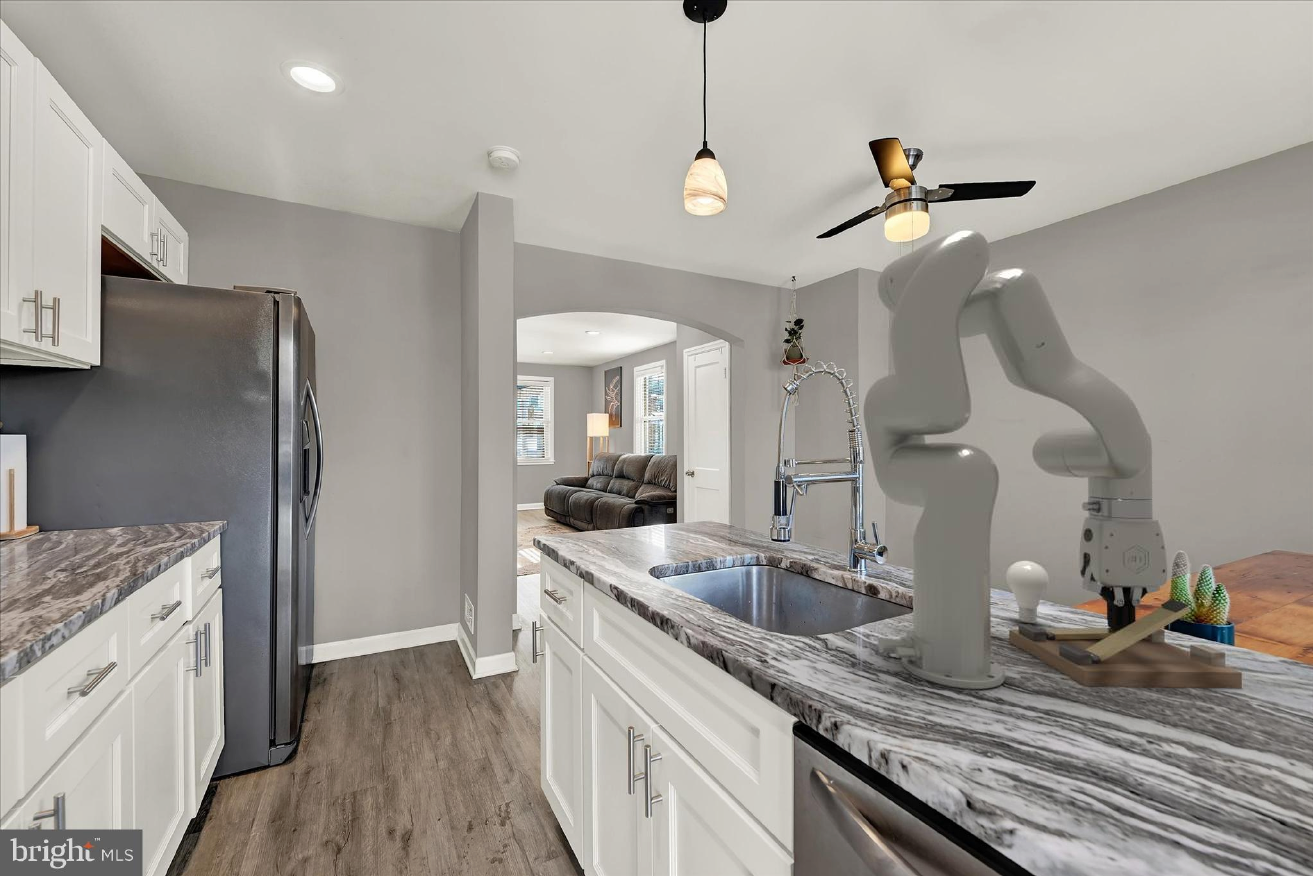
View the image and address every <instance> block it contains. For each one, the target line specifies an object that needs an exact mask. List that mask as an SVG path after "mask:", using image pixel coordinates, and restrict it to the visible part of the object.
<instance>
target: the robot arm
mask: <svg viewBox="0 0 1313 876" xmlns="http://www.w3.org/2000/svg"><path fill="white" fill-rule="evenodd" d="M990 249H991V248H990V245H989V242H988V240H987V239H986V237H985V236H984V235H983V234H982V233H981V232H979V231H976V230H972V229H963V230H958V231H953V232H950V233H948V234H946V235H944V236H943V235H942V236H941V237H939V238H936V239H935V240H932V241H931V242H928V243H926V244H924V245H921V246H920V247H919V248H917V249H915V250H912V251H911V252H909V253H907V254H905V255H902V256H901V257H899V258H897V259H895V260H893V261H892V262H890V263H889V264H888V265H886V266H885V268H884V269H883V270H882V272H881V273H880V275H879V277H878V280H877V293H878V297H879V299H880V302H881V303H882V304H883V305H884V306H885V307H886V308H887V310H889V311H890V312H892V313H893V316H892V320H891V326H890V345H891V353H892V360H893V366H894V367H893V368H894V373H892V374H889V375H886V376H882V377H881V378H879V379H878V380H876V381H875V382H874V383H873V384H872V385H871V386H870V388H869V390H868V391H867V393H866V396H865V398H864V404H863V420H864V425H865V431H866V436H867V441H868V446H869V451H870V457H871V461H872V465H873V469H874V474H875V477H876V481H877V482H878V483H877V484H878V486H879V488H880V490H881V491H882V493H883V494H884V495H885V496H886V497H887V498H889V500H891V501H894V502H896V503H898V504H900V505H901V504H902V505H906V506H907V505H908V506H912V507H918V508H923V510H922V513H921V515H920V516H919V517H920V518H919V519H918V522H917V524H916V527H915V530H914V535H913V538H912V539H913V540H912V580H913V581H912V582H913V583H912V589H913V592H912V594H913V595H912V602H913V603H912V605H913V607H912V608H913V609H912V611H913V613H912V614H913V618H912V620H913V621H912V623H913V625H912V626H913V627H912V629H913V630H912V629H911V630H906V631H905V636H900V638H899V639H898V638H897V639H893V638H883V637H882V638H879V639H878V641H877V645H878V650H879V652H880V653H881V654H883V653H884V654H885V653H886V654H887V653H888V654H891V653H892V654H894V656H895V658H897V659H900V658H901V664H902V666H903V667H904V669H906V670H907V671H908V672H910V673H912V674H913V675H915V676H916V677H920V678H921V679H924V680H926V681H929V682H932V683H936V684H939V685H943V686H948V687H954V688H960V689H967V690H968V689H971V690H973V689H974V690H984V689H990V688H996V687H998V686H1000V685H1002V684H1003V683H1004V681H1005V670H1004V668H1003V667H1002V666H1001V665H1000V664H999V663H998V662H997V661H994V660H993V659H992V658H991V656H992V650H991V649H992V648H991V646H992V642H991V641H992V639H991V638H992V637H991V633H992V632H991V631H992V630H991V628H992V627H991V625H992V624H991V622H992V621H991V620H992V618H991V616H992V614H991V533H992V522H993V521H992V520H993V515H994V510H995V509H994V508H995V505H996V500H997V497H998V492H999V485H1000V476H999V475H1000V474H999V470H998V467H997V464H996V463H995V461H994V459H993V458H992V457H991V456H990V455H989V454H988V453H987V452H986V451H985V450H982V449H981V448H979V447H977V446H974V445H971V444H967V443H961V442H930V443H928V442H927V443H926V437H925V436H935V435H937V436H938V435H944V434H946V435H947V434H951V433H954V432H956V431H959V430H961V429H963V427H965V426H966V425H967V423H968V422H969V420H970V418H971V415H972V414H971V413H972V400H971V399H972V398H971V394H970V393H971V392H970V388H969V382H968V377H967V372H966V365H965V362H964V357H963V351H962V347H961V346H962V345H961V339H964V338H966V339H967V338H971V337H975V336H980V335H985V336H986V338H987V340H988V342H990V343H989V344H990V345H991V347H992V349H993V352H994V354H995V355H996V357H997V359H998V361H999V364H1000V366H1001V369H1002V370H1003V372H1004V375H1005V377H1006V380H1008V382H1009V383H1010V384H1011V385H1013V386H1015V387H1017V388H1020V389H1023V390H1024V391H1028V392H1031V393H1033V394H1036V395H1040V396H1042V397H1046V398H1049V399H1052V400H1055V401H1057V402H1059V403H1061V404H1064V405H1066V406H1067V407H1069V408H1071V409H1072V410H1074V411H1075V412H1077V413H1078V414H1079V415H1081V416H1082V417H1083V418H1084V420H1086V421H1087V422H1088V423H1089V425H1090V426H1081V427H1061V428H1055V429H1051V430H1048V431H1045V432H1044V433H1042V434H1041V435H1040V436H1039V437H1037V439H1036V440H1035V442H1033V446H1032V450H1031V451H1032V453H1031V454H1032V457H1033V460H1034V463H1035V464H1036V466H1037V467H1038V468H1040V470H1042V471H1044V472H1045V473H1048V474H1050V475H1052V476H1057V477H1063V478H1064V477H1065V478H1077V479H1078V478H1080V479H1081V478H1082V479H1085V478H1086V479H1087V486H1088V487H1087V488H1088V489H1087V494H1088V495H1087V496H1088V497H1087V499H1088V500H1087V501H1085V502H1083V503H1082V505H1081V507H1082V510H1083V511H1085V512H1087V513H1088V516H1085V518H1084V521H1083V525H1082V528H1081V535H1080V543H1079V558H1078V561H1079V563H1078V564H1079V565H1078V567H1079V573H1080V574H1079V575H1080V576H1081V578H1083V581H1082V588H1083V589H1084V590H1086V591H1089V592H1092V593H1095V594H1096V593H1097V594H1098V595H1099V596H1100V597H1101V599H1102V600H1103V601H1104V602H1106V620H1107V627H1108V628H1113V629H1115V630H1117V631H1119V630H1121V629H1123V628H1125V627H1126V626H1128V625H1130V624H1132V623H1134V622H1135V621H1137V618H1136V607H1139V606H1140V605H1141V602H1142V599H1143V598H1144V597H1145V596H1146V595H1148V594H1152V593H1155V592H1159V591H1160V590H1161V589H1160V588H1161V587H1163V586H1164V585H1165V584H1166V583H1167V582H1168V562H1167V561H1168V560H1167V554H1166V546H1165V541H1164V540H1165V539H1164V536H1163V531H1162V528H1161V525H1160V522H1159V520H1158V519H1153V514H1154V513H1153V512H1154V511H1153V460H1152V459H1153V450H1152V449H1153V446H1152V437H1151V435H1150V433H1148V431H1147V428H1146V425H1145V423H1144V420H1143V419H1142V417H1141V414H1140V412H1139V410H1138V408H1137V406H1136V404H1135V402H1134V401H1133V399H1131V397H1130V396H1129V395H1128V394H1127V393H1126V392H1125V390H1123V389H1122V388H1120V386H1119V385H1117V384H1115V382H1113V381H1112V380H1111V379H1109V378H1108V377H1106V376H1105V375H1104V374H1102V372H1101V373H1100V371H1098V370H1096V369H1094V368H1093V367H1091V366H1090V365H1088V364H1086V363H1085V362H1082V361H1081V360H1080V359H1078V358H1077V357H1076V356H1075V355H1074V354H1073V351H1072V350H1071V347H1070V345H1069V343H1068V341H1067V339H1066V336H1065V334H1064V332H1063V330H1062V328H1061V325H1060V323H1059V321H1058V319H1057V317H1056V315H1055V313H1054V311H1053V307H1052V306H1051V304H1050V302H1049V300H1048V297H1047V296H1046V293H1045V291H1044V289H1043V287H1042V284H1041V282H1040V281H1039V279H1038V278H1037V276H1036V274H1034V273H1033V272H1032V271H1030V270H1028V269H1025V268H1023V267H1022V268H1021V267H1013V268H1006V269H1005V268H1004V269H1002V270H997V271H994V272H991V273H988V274H986V273H987V272H988V269H989V266H990V261H991V250H990ZM1098 582H1099V583H1098Z"/></svg>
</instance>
